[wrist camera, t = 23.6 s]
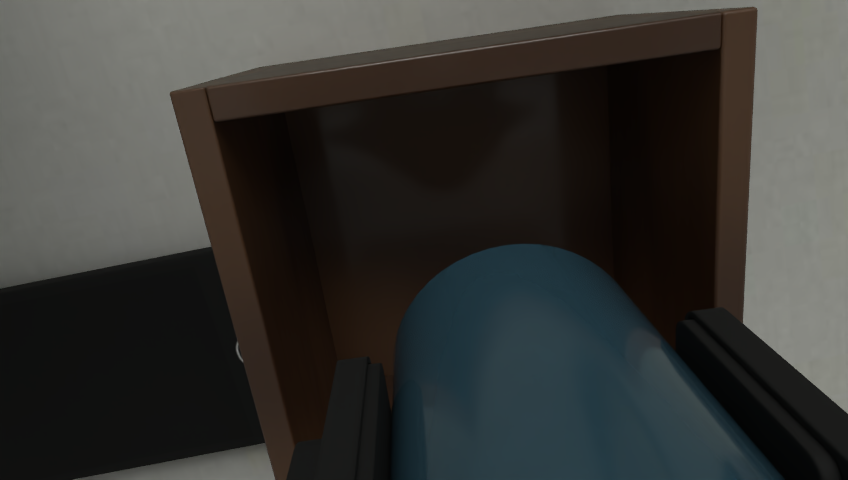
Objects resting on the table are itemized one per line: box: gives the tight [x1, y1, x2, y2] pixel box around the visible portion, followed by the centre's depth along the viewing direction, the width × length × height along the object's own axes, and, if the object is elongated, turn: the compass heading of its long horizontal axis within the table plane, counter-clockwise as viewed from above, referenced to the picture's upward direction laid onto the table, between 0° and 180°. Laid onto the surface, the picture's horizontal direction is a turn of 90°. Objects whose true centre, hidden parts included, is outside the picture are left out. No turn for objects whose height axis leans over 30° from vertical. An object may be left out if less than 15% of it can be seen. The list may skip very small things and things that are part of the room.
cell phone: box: [0, 247, 265, 480], centre depth 25 cm, size 9×18×1 cm, turn 101°
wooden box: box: [170, 7, 757, 480], centre depth 20 cm, size 14×13×9 cm
